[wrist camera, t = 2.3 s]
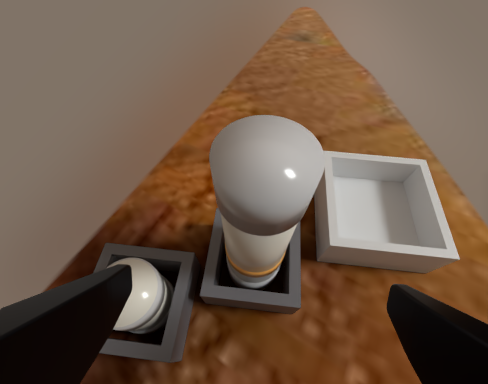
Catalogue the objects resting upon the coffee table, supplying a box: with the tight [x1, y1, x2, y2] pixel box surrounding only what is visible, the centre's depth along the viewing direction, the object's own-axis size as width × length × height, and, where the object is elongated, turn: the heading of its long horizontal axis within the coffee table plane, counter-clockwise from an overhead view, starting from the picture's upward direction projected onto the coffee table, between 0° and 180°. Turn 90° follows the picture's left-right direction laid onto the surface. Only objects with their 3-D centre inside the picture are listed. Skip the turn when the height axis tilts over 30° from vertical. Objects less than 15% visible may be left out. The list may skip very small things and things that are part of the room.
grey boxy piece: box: [93, 243, 201, 363], centre depth 17 cm, size 6×6×3 cm
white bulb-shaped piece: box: [209, 115, 325, 291], centre depth 14 cm, size 4×4×13 cm
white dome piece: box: [107, 258, 175, 334], centre depth 16 cm, size 4×4×4 cm
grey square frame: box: [200, 208, 301, 314], centre depth 18 cm, size 6×6×3 cm
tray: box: [314, 151, 460, 273], centre depth 20 cm, size 8×8×4 cm
